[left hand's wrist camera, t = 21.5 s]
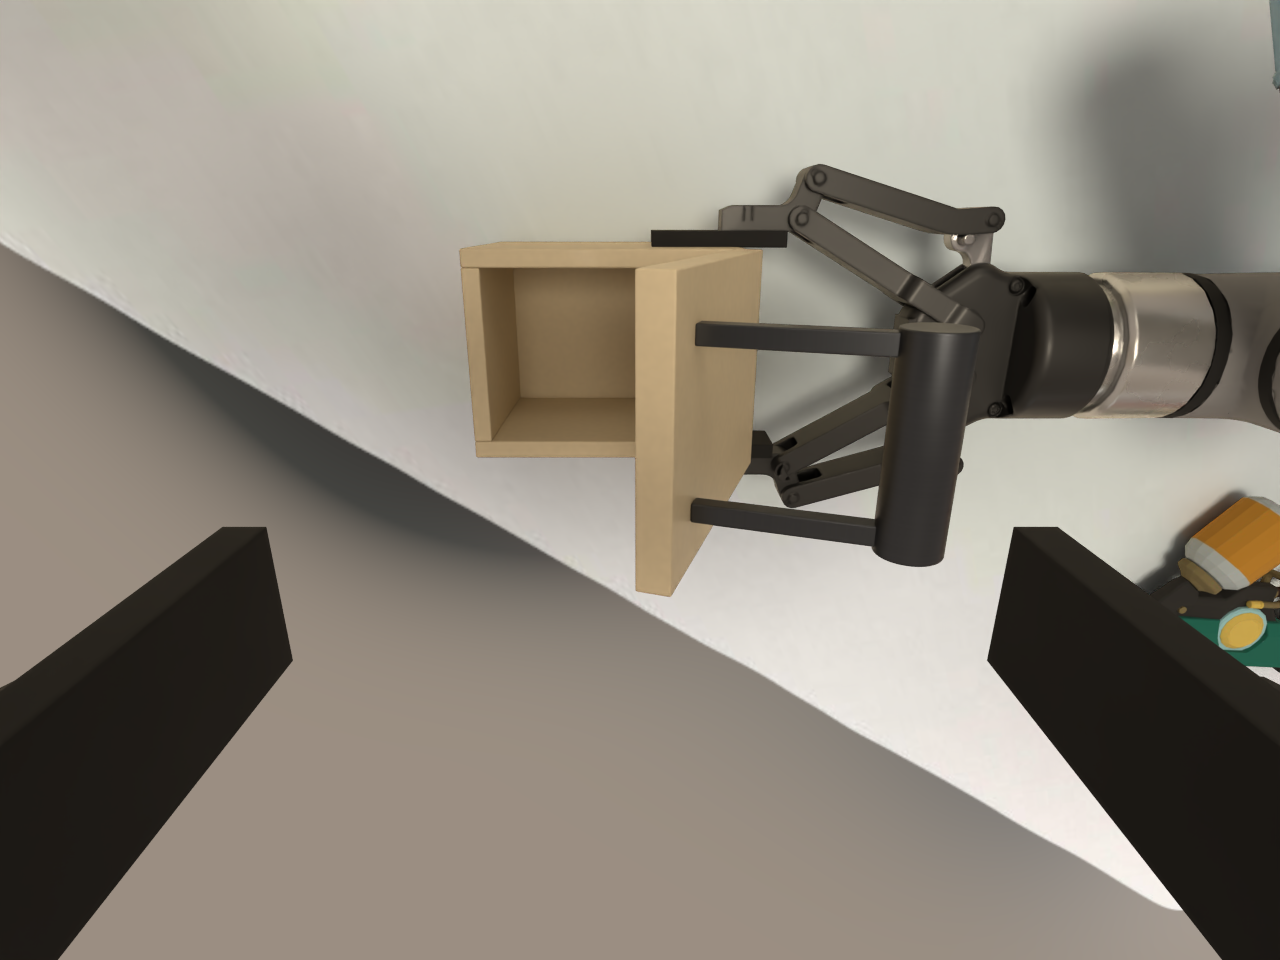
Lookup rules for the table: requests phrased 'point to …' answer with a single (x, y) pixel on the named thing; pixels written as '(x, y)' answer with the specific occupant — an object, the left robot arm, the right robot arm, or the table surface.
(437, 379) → the table surface
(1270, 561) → the spray gun
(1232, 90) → the table surface
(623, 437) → the chest
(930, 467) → the lid
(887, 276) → the right robot arm
